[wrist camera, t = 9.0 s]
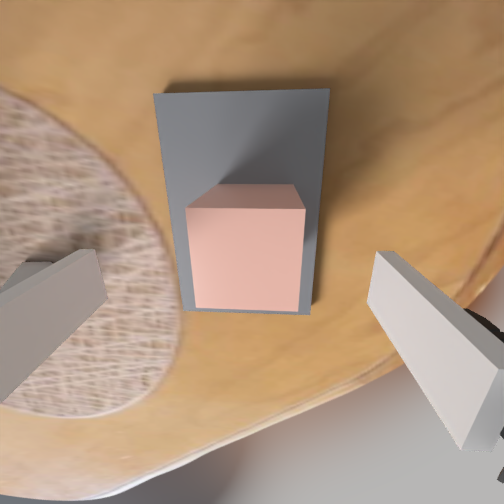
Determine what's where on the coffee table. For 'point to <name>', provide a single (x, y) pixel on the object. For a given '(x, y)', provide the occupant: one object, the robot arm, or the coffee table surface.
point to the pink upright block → (247, 247)
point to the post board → (242, 160)
